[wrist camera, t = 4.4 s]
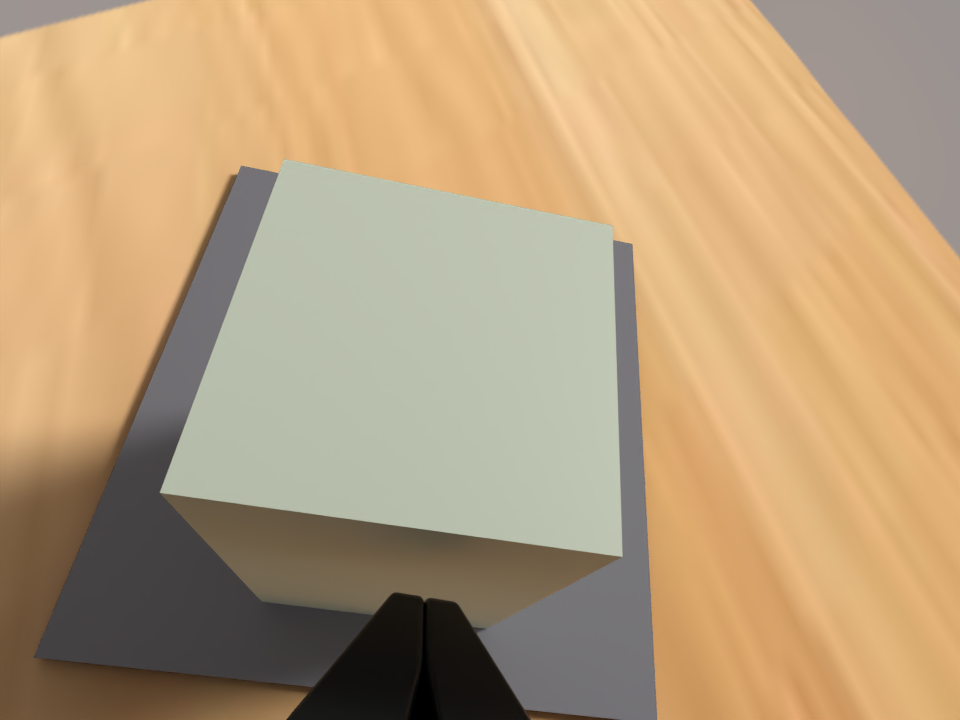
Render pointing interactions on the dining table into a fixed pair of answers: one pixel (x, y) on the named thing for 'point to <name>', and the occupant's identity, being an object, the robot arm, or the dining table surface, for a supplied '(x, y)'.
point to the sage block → (409, 402)
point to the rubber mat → (312, 631)
